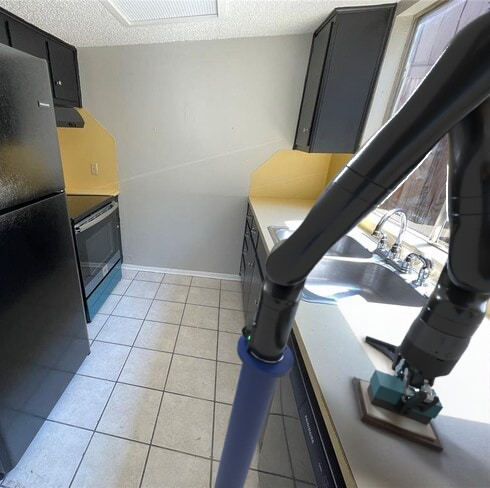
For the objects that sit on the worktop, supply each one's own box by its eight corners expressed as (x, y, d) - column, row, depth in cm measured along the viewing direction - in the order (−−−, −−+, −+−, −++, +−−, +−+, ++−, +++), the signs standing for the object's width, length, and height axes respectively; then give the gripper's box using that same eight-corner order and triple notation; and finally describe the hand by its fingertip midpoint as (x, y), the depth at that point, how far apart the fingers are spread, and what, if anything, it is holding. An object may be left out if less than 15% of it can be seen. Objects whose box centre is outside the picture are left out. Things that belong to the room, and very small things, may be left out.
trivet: (360, 420, 54) (363, 415, 54) (352, 379, 64) (354, 374, 63) (441, 452, 50) (445, 447, 49) (418, 403, 59) (422, 397, 58)
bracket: (368, 374, 65) (373, 366, 64) (364, 338, 77) (368, 331, 76) (446, 406, 58) (452, 398, 57) (428, 361, 70) (433, 354, 69)
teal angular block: (369, 404, 56) (380, 385, 54) (365, 387, 60) (375, 369, 57) (429, 426, 52) (443, 407, 50) (420, 407, 56) (433, 389, 53)
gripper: (396, 314, 56) (368, 370, 63) (422, 362, 44) (384, 425, 51) (442, 326, 53) (407, 383, 60) (482, 380, 41) (433, 444, 48)
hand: (397, 402), depth 55 cm, fingers closed on teal angular block, 4 cm apart
